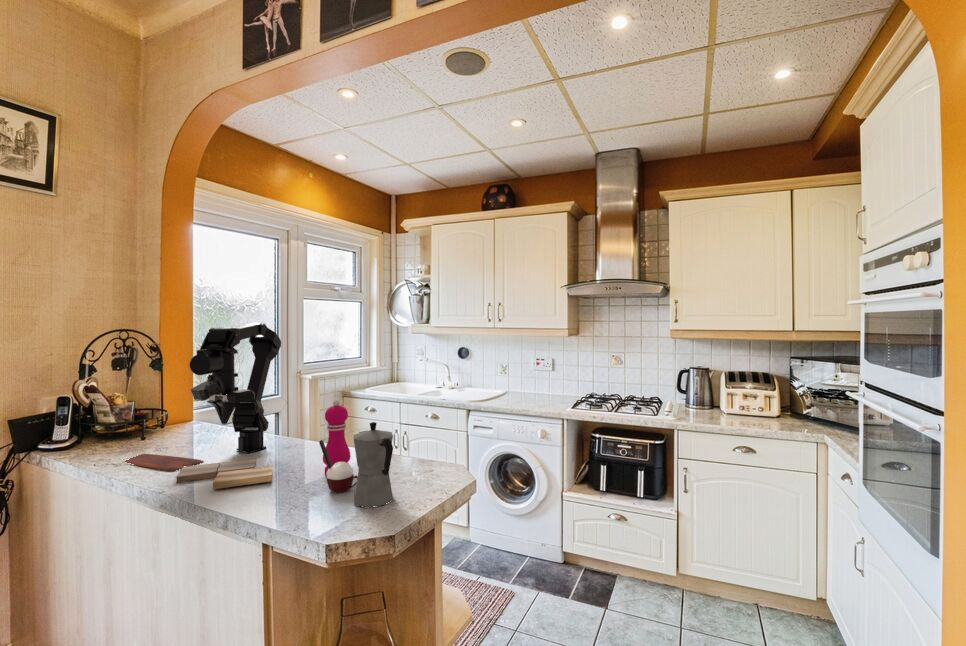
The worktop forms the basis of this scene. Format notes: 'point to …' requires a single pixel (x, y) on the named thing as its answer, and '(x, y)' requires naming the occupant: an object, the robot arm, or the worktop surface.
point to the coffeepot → (373, 467)
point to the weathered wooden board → (213, 469)
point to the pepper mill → (336, 435)
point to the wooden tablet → (163, 462)
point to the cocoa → (338, 473)
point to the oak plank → (243, 477)
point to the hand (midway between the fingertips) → (224, 423)
